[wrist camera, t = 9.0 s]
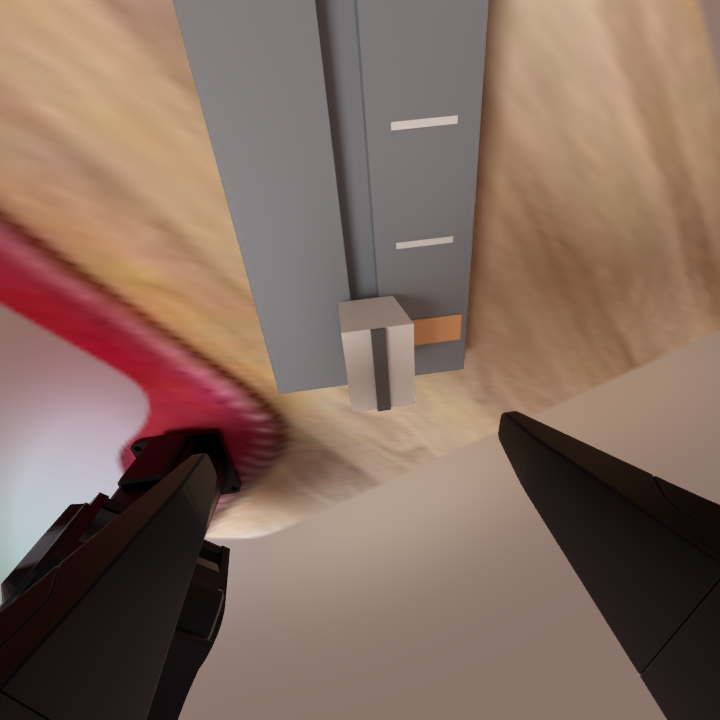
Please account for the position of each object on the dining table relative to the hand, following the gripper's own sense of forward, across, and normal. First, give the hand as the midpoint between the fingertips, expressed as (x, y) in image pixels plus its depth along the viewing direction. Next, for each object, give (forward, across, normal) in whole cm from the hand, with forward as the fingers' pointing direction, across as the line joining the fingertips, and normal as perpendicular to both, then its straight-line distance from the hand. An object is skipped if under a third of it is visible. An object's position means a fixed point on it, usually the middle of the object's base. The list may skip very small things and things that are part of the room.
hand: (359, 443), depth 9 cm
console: (+12, -1, -6) cm, 13 cm away
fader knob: (+10, -1, 0) cm, 10 cm away
